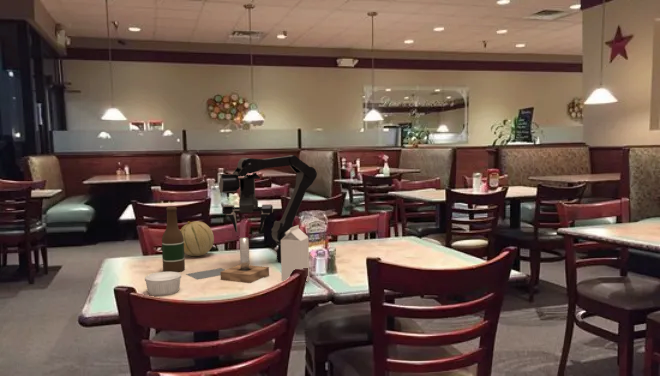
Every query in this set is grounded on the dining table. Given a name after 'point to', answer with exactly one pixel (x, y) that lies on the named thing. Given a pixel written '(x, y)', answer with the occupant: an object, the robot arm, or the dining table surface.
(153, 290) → the ramekin
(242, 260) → the steel pin
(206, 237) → the cantaloupe
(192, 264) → the dining table surface
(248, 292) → the dining table surface
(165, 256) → the beer bottle
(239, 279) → the socket block
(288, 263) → the milk carton
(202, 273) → the rubber mat
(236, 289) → the dining table surface
